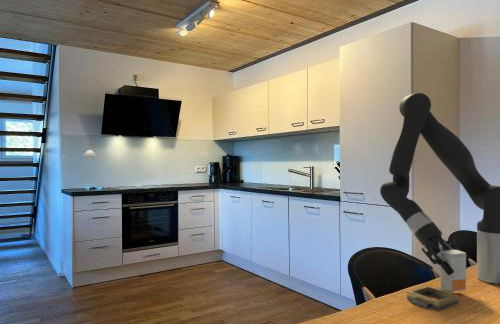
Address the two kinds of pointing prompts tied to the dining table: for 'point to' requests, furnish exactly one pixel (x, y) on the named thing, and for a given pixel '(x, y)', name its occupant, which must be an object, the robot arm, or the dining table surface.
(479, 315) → the dining table surface
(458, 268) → the skincare box
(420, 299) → the beige grey rectangular frame
